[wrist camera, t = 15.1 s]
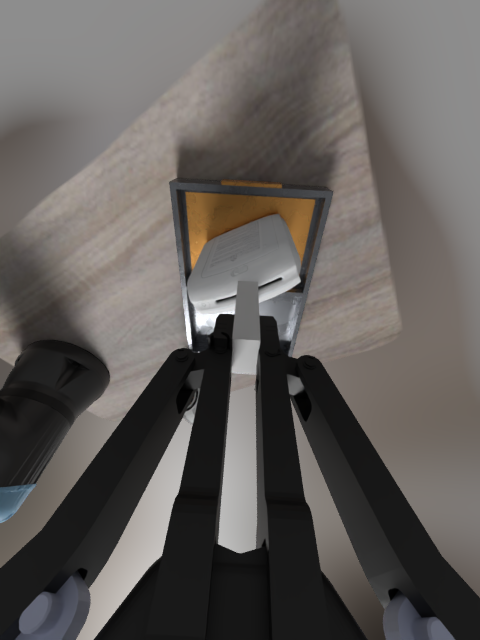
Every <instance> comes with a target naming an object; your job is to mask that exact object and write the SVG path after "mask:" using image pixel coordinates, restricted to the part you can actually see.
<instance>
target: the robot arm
mask: <svg viewBox="0 0 480 640" xmlns="http://www.w3.org/2000/svg"><path fill="white" fill-rule="evenodd" d="M231 373H239V374H255V375H256V383H255V390H256V439H257V440H256V448H257V449H256V450H257V535H256V536H257V537H256V540H257V541H256V549H255V550H252V551H248V552H245V553H236V552H234V551H232V550H230V549H227V548H225V547H223V546H221V545H218V534H219V519H220V506H221V495H222V483H223V471H224V458H225V447H226V435H227V423H228V410H229V398H230V387H231ZM109 381H110V377H109V373H108V371H107V369H106V368H105V366H104V365H103V364H102V363H101V362H100V361H99V360H98V359H97V358H96V357H95V356H93V355H92V354H90V353H89V352H87V351H85V350H83V349H81V348H79V347H77V346H74V345H72V344H68V343H65V342H60V341H52V340H45V341H38V342H35V343H33V344H31V345H29V346H28V347H27V348H26V349H25V350H24V351H23V352H22V353H21V354H20V355H19V356H18V357H17V359H16V361H15V366H14V368H13V369H12V371H11V372H10V374H9V376H8V378H7V380H6V382H5V384H4V386H3V388H2V389H1V390H0V523H2V522H4V521H6V520H7V519H9V518H10V517H12V516H13V515H14V514H15V513H16V512H17V510H18V509H19V507H20V506H21V505H22V503H23V502H24V500H25V499H26V498H27V496H28V495H29V493H30V492H31V491H32V489H33V488H34V487H35V486H36V482H37V481H38V479H39V478H40V476H41V474H42V473H43V471H44V469H45V468H46V466H47V465H48V463H49V461H50V460H51V458H52V457H53V455H54V453H55V452H56V450H57V448H58V447H59V445H60V444H61V442H62V440H63V439H64V437H65V436H66V434H67V432H68V431H69V429H70V428H71V426H72V424H73V423H74V421H75V420H76V418H77V417H78V416H79V415H80V414H81V413H83V412H84V411H85V410H86V409H87V408H88V407H89V406H90V405H91V404H92V403H93V402H94V401H96V400H97V399H98V398H99V397H101V395H102V394H103V393H104V391H105V389H106V388H107V386H108V384H109ZM198 388H200V392H199V397H198V402H197V407H196V412H195V417H194V422H193V426H192V431H191V436H190V441H189V446H188V451H187V456H186V461H185V466H184V470H183V475H182V480H181V485H180V489H179V493H178V495H177V497H176V498H175V501H174V504H173V508H172V512H171V517H170V521H169V526H168V531H167V535H166V540H165V545H164V549H163V554H162V556H161V557H160V558H159V559H158V560H157V561H156V562H155V563H154V564H153V565H152V566H151V567H150V568H149V569H148V570H147V571H146V572H145V574H144V575H143V577H142V578H141V579H140V580H139V581H138V583H137V584H136V585H135V587H134V588H133V589H132V591H131V592H130V593H129V595H128V596H127V597H126V599H125V600H124V601H123V602H122V604H121V605H120V606H119V608H118V609H117V610H116V611H115V613H114V614H113V615H112V617H111V618H110V619H109V620H108V622H107V623H106V624H105V626H104V627H103V629H102V630H101V631H100V632H99V633H98V635H97V636H96V637H95V639H94V640H368V639H367V638H366V636H365V635H364V633H363V632H362V630H361V629H360V627H359V626H358V624H357V622H356V621H355V619H354V618H353V616H352V615H351V613H350V612H349V610H348V609H347V607H346V606H345V604H344V602H343V601H342V599H341V598H340V596H339V595H338V593H337V591H336V590H335V589H334V587H333V585H332V584H331V582H330V581H329V580H328V578H327V577H326V576H325V575H324V573H323V572H322V571H321V569H320V563H319V557H318V550H317V544H316V538H315V531H314V525H313V519H312V515H311V511H310V508H309V506H308V504H307V503H306V500H305V497H304V491H303V484H302V477H301V470H300V463H299V456H298V449H297V443H296V436H295V429H294V422H293V415H292V408H291V401H292V403H293V406H294V408H295V410H296V413H297V415H298V417H299V420H300V422H301V425H302V427H303V429H304V432H305V434H306V436H307V439H308V441H309V443H310V446H311V448H312V451H313V453H314V455H315V458H316V460H317V463H318V465H319V467H320V470H321V472H322V474H323V477H324V479H325V482H326V484H327V486H328V489H329V491H330V493H331V496H332V498H333V501H334V503H335V505H336V508H337V510H338V512H339V515H340V517H341V519H342V522H343V524H344V527H345V529H346V531H347V534H348V536H349V538H350V541H351V543H352V545H353V548H354V550H355V553H356V555H357V557H358V560H359V562H360V564H361V566H362V568H363V571H364V573H365V575H366V577H367V579H368V581H369V583H370V585H371V586H372V588H373V590H374V592H375V594H376V596H377V597H378V599H379V601H380V602H381V604H382V606H383V607H384V609H385V612H384V616H383V627H384V634H385V637H386V640H480V598H479V597H478V595H477V594H476V593H475V592H474V591H473V590H472V589H471V588H470V587H469V586H468V584H467V583H466V582H465V581H464V580H463V579H462V578H461V577H460V576H459V575H458V574H457V572H456V571H455V570H454V569H453V568H452V567H451V566H450V565H449V564H448V562H447V561H446V560H445V559H444V558H443V557H442V556H441V554H440V552H439V551H438V549H437V548H436V546H435V544H434V543H433V541H432V540H431V538H430V536H429V535H428V533H427V532H426V530H425V528H424V527H423V525H422V524H421V522H420V520H419V519H418V517H417V516H416V514H415V512H414V511H413V509H412V508H411V506H410V504H409V503H408V501H407V500H406V498H405V496H404V495H403V493H402V492H401V490H400V488H399V487H398V485H397V484H396V482H395V480H394V479H393V477H392V476H391V474H390V472H389V471H388V469H387V468H386V466H385V464H384V463H383V461H382V459H381V458H380V456H379V455H378V453H377V451H376V450H375V448H374V447H373V445H372V444H371V442H370V440H369V439H368V437H367V436H366V434H365V432H364V431H363V429H362V428H361V426H360V424H359V423H358V421H357V419H356V418H355V416H354V415H353V413H352V411H351V410H350V408H349V407H348V405H347V404H346V402H345V400H344V399H343V397H342V395H341V394H340V392H339V391H338V389H337V387H336V386H335V384H334V383H333V381H332V379H331V378H330V376H329V375H328V373H327V371H326V370H325V368H324V367H323V365H322V363H321V362H320V361H319V360H318V359H317V358H315V357H313V356H310V355H304V356H301V357H299V358H298V359H296V358H292V357H290V356H288V355H286V354H285V353H284V352H283V351H282V349H281V348H280V342H279V334H278V327H277V321H276V320H275V318H274V317H273V316H260V315H259V295H258V282H252V281H238V285H237V295H236V305H235V314H219V316H218V317H217V318H216V322H215V327H214V332H212V333H211V334H210V335H209V336H208V348H207V349H206V350H204V351H202V352H197V353H193V352H192V350H190V349H187V348H181V349H177V350H175V351H173V352H172V353H171V354H170V356H169V357H168V358H167V360H166V361H165V362H164V364H163V365H162V366H161V368H160V369H159V371H158V372H157V373H156V375H155V376H154V377H153V379H152V380H151V381H150V383H149V384H148V386H147V387H146V388H145V390H144V391H143V392H142V394H141V395H140V396H139V398H138V399H137V401H136V402H135V403H134V405H133V406H132V407H131V409H130V410H129V411H128V413H127V414H126V416H125V417H124V418H123V420H122V421H121V422H120V424H119V425H118V427H117V428H116V429H115V431H114V432H113V433H112V435H111V436H110V438H109V439H108V440H107V442H106V443H105V444H104V446H103V447H102V448H101V450H100V451H99V453H98V454H97V455H96V457H95V458H94V459H93V461H92V462H91V464H90V465H89V466H88V467H87V469H86V470H85V472H84V473H83V474H82V476H81V477H80V478H79V480H78V481H77V482H76V484H75V485H74V487H73V488H72V489H71V491H70V492H69V493H68V495H67V496H66V498H65V499H64V500H63V502H62V503H61V504H60V506H59V507H58V508H57V510H56V511H55V513H54V514H53V515H52V517H51V518H50V519H49V521H48V522H47V524H46V525H45V526H44V528H43V529H42V530H41V531H40V532H39V533H38V534H37V535H36V536H35V537H34V538H33V539H32V540H30V541H29V542H28V543H27V544H26V545H25V546H24V547H23V548H22V549H21V550H20V551H19V552H18V553H17V554H16V555H14V556H13V557H12V558H11V559H10V560H9V561H8V562H7V563H6V564H5V565H4V566H2V567H1V568H0V640H76V638H77V637H78V635H79V633H80V631H81V629H82V627H83V625H84V624H85V621H86V619H87V616H88V613H89V608H90V593H89V590H88V589H89V587H90V586H91V585H92V583H93V582H94V581H95V579H96V578H97V576H98V575H99V573H100V572H101V570H102V569H103V567H104V566H105V564H106V563H107V561H108V559H109V557H110V556H111V554H112V552H113V550H114V549H115V547H116V545H117V543H118V541H119V539H120V537H121V535H122V534H123V532H124V530H125V528H126V526H127V524H128V522H129V520H130V518H131V516H132V514H133V512H134V510H135V508H136V507H137V505H138V503H139V500H140V499H141V497H142V495H143V493H144V491H145V489H146V487H147V485H148V483H149V481H150V479H151V477H152V476H153V474H154V472H155V470H156V468H157V466H158V464H159V462H160V460H161V458H162V456H163V454H164V452H165V451H166V449H167V447H168V444H169V443H170V441H171V439H172V437H173V435H174V433H175V431H176V429H177V427H178V425H179V423H180V422H181V419H182V418H183V416H184V414H185V412H186V410H187V408H188V406H189V404H190V402H191V400H192V398H193V396H194V395H195V393H196V391H197V389H198ZM290 399H291V401H290Z"/></svg>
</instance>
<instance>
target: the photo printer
mask: <svg viewBox="0 0 480 640" xmlns="http://www.w3.org/2000/svg"><path fill="white" fill-rule="evenodd" d="M300 270H301V260H300V256H299V254H298V251H297V249H296V246H295V244H294V241H293V238H292V236H291V233H290V231H289V228H288V226H287V223H286V222H285V220H284V219H283V218H281V217H280V215H279V214H273V215H269V216H266V217H263V218H260V219H258V220H255V221H253V222H250V223H248V224H245V225H243V226H240V227H238V228H235V229H233V230H231V231H228V232H226V233H224V234H221V235H219V236H217V237H215V238H213V239H211V240H210V241H208V242H207V243H206V244H205V245H204V246H203V249H202V251H201V253H200V255H199V257H198V260H197V262H196V264H195V266H194V268H193V270H192V273H191V275H190V277H189V279H188V282H187V290H188V296H189V299H190V301H191V303H192V304H193V305H194V306H195V308H196V311H197V312H198V313H200V314H219V313H225V312H230V311H234V310H235V305H236V295H237V285H238V281H252V282H258V295H259V303H260V302H263V301H266V300H268V299H270V298H273V297H275V296H277V295H279V294H282V293H284V292H286V291H288V290H289V289H291V288H293V287H294V286H296V285H297V284H298V283H300V282H301V280H300V277H299V274H300Z"/></svg>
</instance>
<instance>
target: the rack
mask: <svg viewBox="0 0 480 640" xmlns="http://www.w3.org/2000/svg"><path fill="white" fill-rule="evenodd" d="M169 184H170V193H171V201H172V210H173V219H174V227H175V236H176V245H177V253H178V262H179V271H180V279H181V288H182V296H183V305H184V314H185V322H186V331H187V340H188V348H189V349H190V350H192V352H193V353H197V352H202V351H204V350H206V349H207V348H208V336H209V335H210V334H211V333H212V332H214V327H215V322H216V318H217V317H218V316H219V314H235V310H234V311H230V312H225V313H219V314H200V313H198V312H197V311H196V308H195V306H194V305H193V304H192V303H191V301H190V299H189V296H188V290H187V282H188V279H189V277H190V275H191V273H192V270H193V268H194V266H195V264H196V262H197V260H198V257H199V255H200V253H201V251H202V249H203V246H204V245H205V244H206V243H207V242H208V241H210V240H211V239H213V238H215V237H217V236H219V235H221V234H224V233H226V232H228V231H231V230H233V229H235V228H238V227H240V226H243V225H245V224H248V223H250V222H253V221H255V220H258V219H260V218H263V217H266V216H269V215H273V214H279V215H280V217H281V218H283V219H284V220H285V222H286V223H287V226H288V228H289V231H290V233H291V236H292V238H293V241H294V244H295V246H296V249H297V251H298V254H299V256H300V260H301V270H300V274H299V277H300V280H301V282H300V283H298V284H297V285H296V286H294V287H293V288H291V289H289V290H288V291H286V292H284V293H282V294H279V295H277V296H275V297H273V298H270V299H268V300H266V301H263V302H260V303H259V315H260V316H273V317H274V318H275V320H276V321H277V327H278V334H279V342H280V348H281V349H282V351H283V352H284V353H285V354H286V355H288V356H290V357H292V354H293V350H294V346H295V342H296V338H297V334H298V330H299V326H300V322H301V318H302V314H303V310H304V306H305V302H306V298H307V294H308V290H309V286H310V282H311V278H312V275H313V271H314V267H315V263H316V259H317V255H318V251H319V247H320V243H321V239H322V235H323V231H324V227H325V223H326V219H327V215H328V211H329V207H330V203H331V199H332V196H333V191H332V190H330V189H328V188H327V187H319V186H302V185H285V184H281V183H280V182H263V181H246V180H229V179H222V181H217V180H200V179H183V178H176V179H174V180H172V181H170V182H169Z"/></svg>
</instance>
